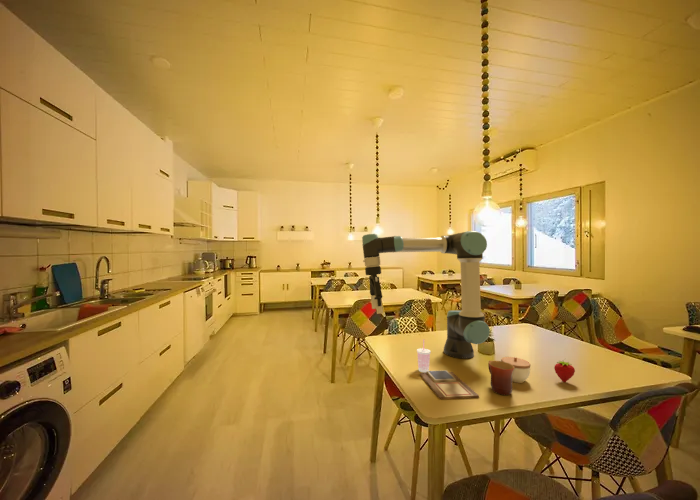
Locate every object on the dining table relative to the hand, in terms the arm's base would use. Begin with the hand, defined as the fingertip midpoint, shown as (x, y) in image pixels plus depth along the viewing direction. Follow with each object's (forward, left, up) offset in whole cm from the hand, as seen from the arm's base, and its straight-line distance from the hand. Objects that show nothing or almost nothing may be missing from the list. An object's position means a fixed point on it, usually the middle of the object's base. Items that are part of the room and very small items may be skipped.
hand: (377, 310), depth 131 cm
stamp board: (-24, +22, -26) cm, 42 cm away
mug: (-43, +27, -26) cm, 57 cm away
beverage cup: (-20, +7, -26) cm, 34 cm away
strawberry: (-75, +23, -26) cm, 83 cm away
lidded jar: (-56, +19, -26) cm, 65 cm away
